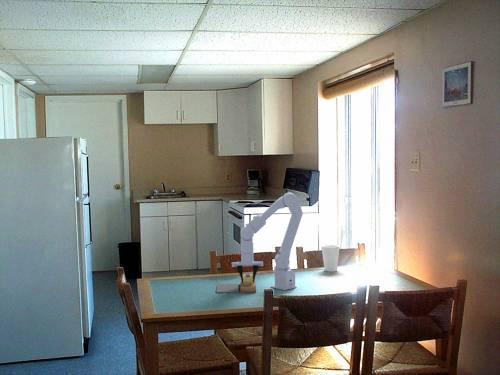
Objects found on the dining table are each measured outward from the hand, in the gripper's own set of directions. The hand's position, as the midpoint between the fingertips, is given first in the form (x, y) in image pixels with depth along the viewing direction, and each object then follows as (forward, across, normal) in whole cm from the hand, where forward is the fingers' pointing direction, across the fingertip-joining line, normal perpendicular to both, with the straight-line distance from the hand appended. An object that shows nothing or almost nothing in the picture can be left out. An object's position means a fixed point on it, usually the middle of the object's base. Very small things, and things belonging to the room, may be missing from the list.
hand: (247, 281), depth 272 cm
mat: (+3, +10, 0) cm, 10 cm away
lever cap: (0, 0, 0) cm, 0 cm away
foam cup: (+3, -45, -36) cm, 57 cm away
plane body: (+3, 0, 0) cm, 3 cm away
